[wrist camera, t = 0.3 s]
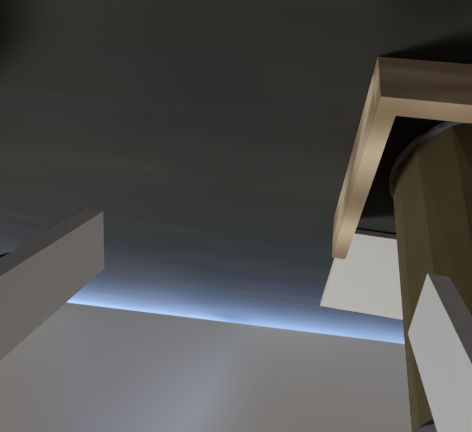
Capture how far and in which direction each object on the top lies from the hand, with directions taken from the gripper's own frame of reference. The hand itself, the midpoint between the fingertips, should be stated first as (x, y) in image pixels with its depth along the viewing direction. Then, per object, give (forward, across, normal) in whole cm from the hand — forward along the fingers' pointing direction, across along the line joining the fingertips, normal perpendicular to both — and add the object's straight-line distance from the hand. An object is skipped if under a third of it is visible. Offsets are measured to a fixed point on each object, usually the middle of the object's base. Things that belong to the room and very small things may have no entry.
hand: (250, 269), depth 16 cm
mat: (+22, +12, -10) cm, 27 cm away
